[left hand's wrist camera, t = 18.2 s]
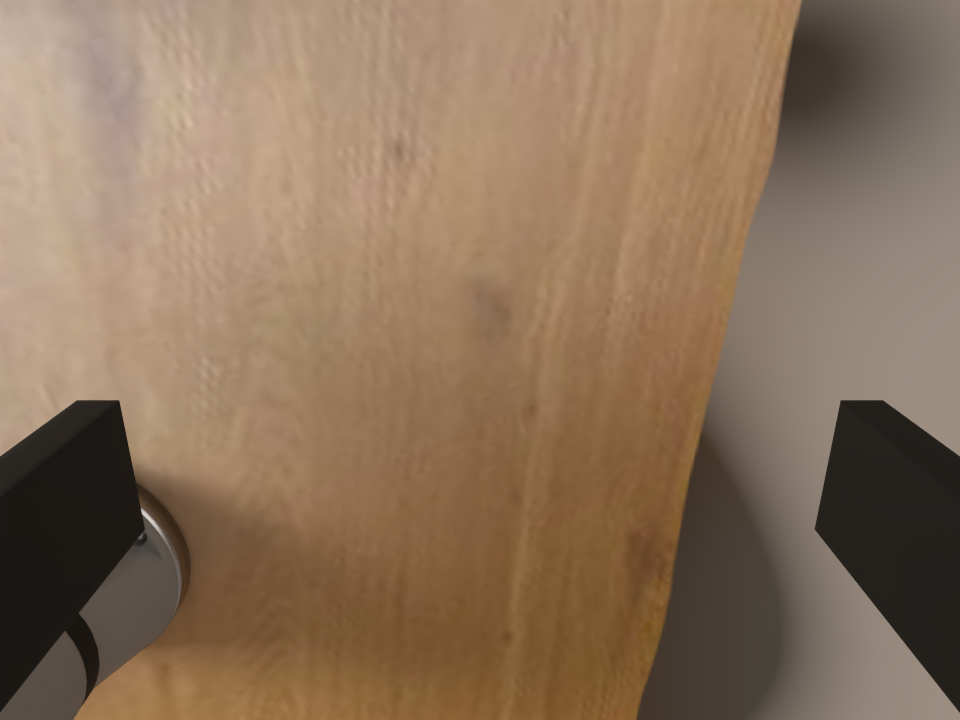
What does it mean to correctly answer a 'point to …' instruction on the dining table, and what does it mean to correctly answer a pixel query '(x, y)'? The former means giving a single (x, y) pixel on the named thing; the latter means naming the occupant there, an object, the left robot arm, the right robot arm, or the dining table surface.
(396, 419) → the dining table surface
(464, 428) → the dining table surface
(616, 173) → the dining table surface
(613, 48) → the dining table surface
